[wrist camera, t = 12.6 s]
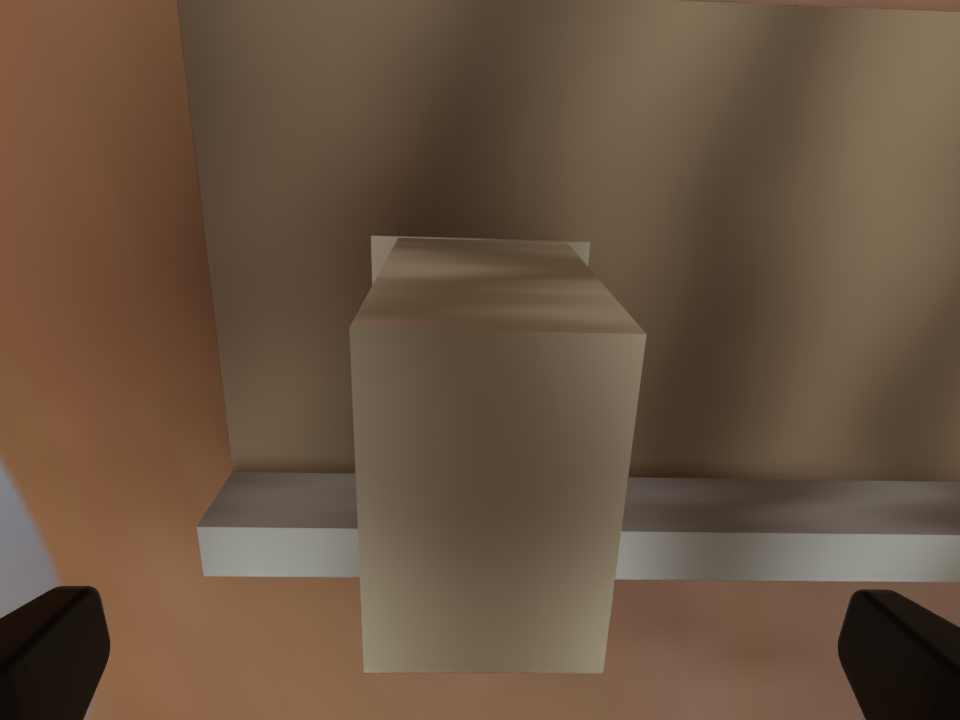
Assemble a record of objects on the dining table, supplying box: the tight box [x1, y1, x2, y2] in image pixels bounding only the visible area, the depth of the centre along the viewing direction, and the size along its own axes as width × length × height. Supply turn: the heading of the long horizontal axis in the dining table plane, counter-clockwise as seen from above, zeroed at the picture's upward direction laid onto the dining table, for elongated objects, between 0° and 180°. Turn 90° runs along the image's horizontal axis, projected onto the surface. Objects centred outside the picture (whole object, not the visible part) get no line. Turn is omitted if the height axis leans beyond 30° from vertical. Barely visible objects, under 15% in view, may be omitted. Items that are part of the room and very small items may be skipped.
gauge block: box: [349, 238, 646, 673], centre depth 13 cm, size 4×6×7 cm, turn 178°
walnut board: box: [177, 0, 960, 582], centre depth 16 cm, size 26×13×4 cm, turn 88°
